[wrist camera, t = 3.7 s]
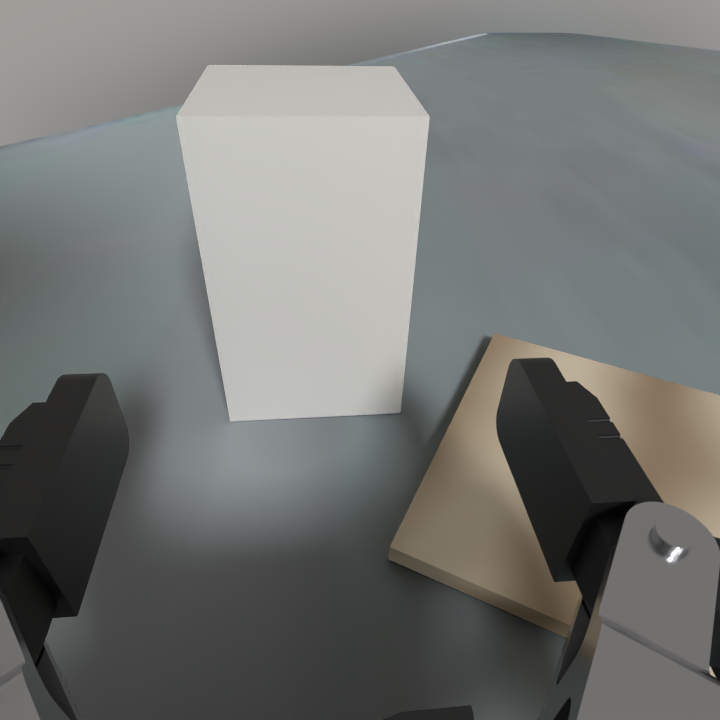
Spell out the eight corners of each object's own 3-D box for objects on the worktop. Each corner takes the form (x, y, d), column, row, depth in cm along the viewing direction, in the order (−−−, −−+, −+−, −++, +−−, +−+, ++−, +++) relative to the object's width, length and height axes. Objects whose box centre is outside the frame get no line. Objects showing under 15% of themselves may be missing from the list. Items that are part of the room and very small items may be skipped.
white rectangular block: (230, 421, 19) (176, 116, 13) (243, 323, 23) (207, 64, 17) (400, 413, 19) (429, 116, 13) (379, 318, 24) (394, 66, 18)
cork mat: (388, 558, 15) (389, 547, 14) (492, 344, 23) (494, 333, 22) (871, 773, 11) (890, 763, 11) (796, 431, 19) (806, 419, 19)
